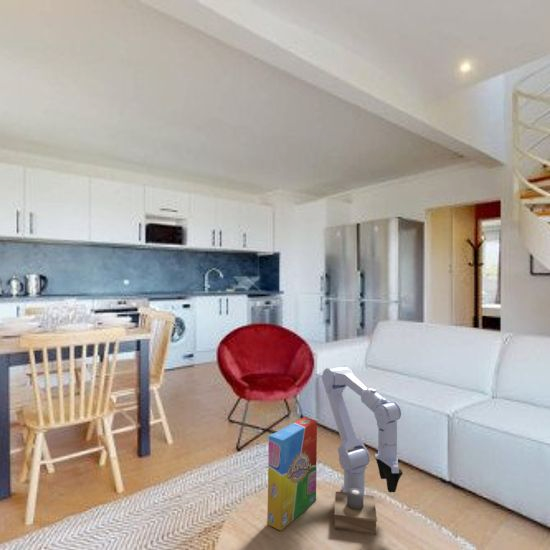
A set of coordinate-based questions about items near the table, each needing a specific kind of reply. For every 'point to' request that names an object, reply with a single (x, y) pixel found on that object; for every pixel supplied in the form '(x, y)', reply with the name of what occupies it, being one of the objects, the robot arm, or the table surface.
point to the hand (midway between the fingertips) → (387, 484)
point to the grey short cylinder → (355, 498)
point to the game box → (291, 472)
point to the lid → (364, 514)
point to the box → (355, 525)
